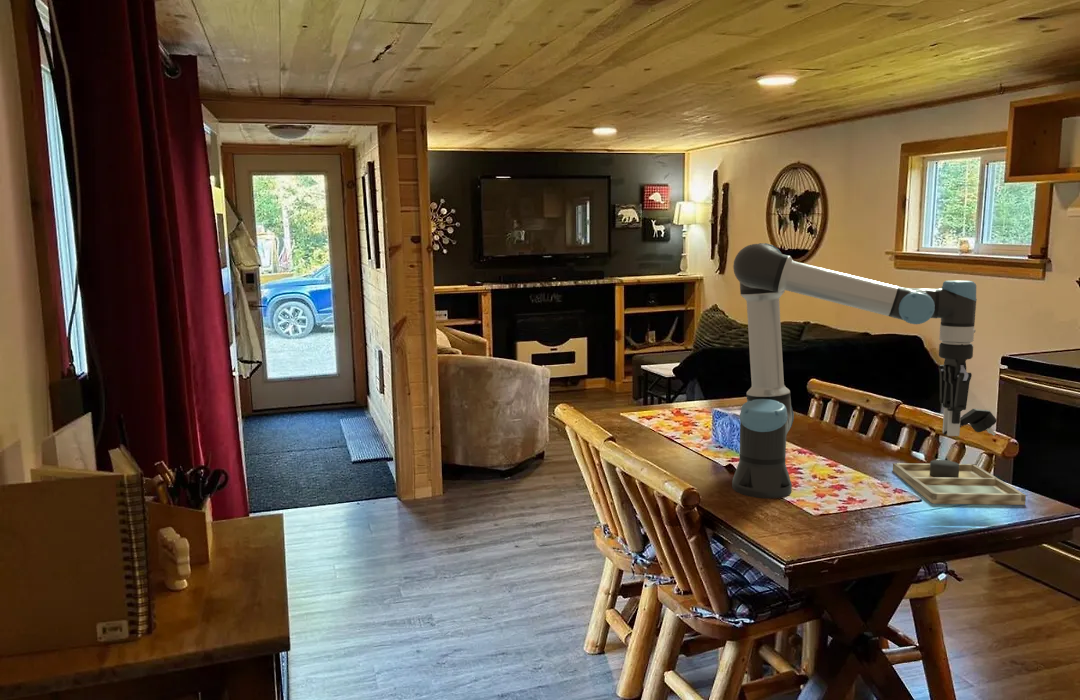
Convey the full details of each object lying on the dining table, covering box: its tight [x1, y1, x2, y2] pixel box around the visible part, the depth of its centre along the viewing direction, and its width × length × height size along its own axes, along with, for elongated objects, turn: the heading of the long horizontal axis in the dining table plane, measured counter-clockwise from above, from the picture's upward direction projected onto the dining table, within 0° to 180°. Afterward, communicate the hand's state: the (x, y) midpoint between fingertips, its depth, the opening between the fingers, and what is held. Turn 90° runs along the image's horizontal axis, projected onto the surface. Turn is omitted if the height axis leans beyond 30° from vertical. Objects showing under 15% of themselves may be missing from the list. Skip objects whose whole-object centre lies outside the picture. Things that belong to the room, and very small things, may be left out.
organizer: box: [892, 462, 1027, 506], centre depth 205 cm, size 22×27×2 cm
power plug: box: [942, 408, 998, 436], centre depth 196 cm, size 6×8×12 cm
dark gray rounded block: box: [929, 459, 960, 478], centre depth 211 cm, size 7×7×4 cm
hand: (950, 434), depth 197 cm, fingers closed on power plug, 2 cm apart
